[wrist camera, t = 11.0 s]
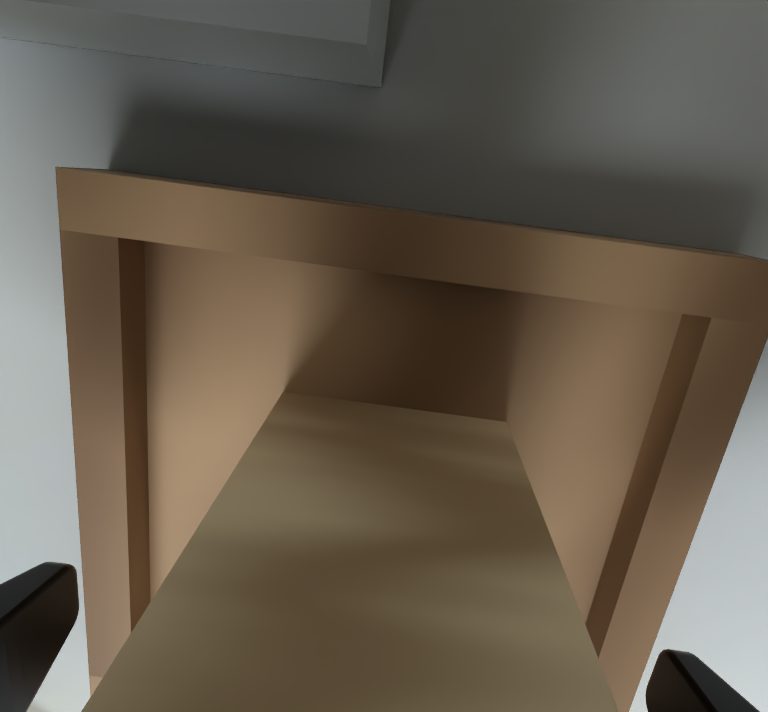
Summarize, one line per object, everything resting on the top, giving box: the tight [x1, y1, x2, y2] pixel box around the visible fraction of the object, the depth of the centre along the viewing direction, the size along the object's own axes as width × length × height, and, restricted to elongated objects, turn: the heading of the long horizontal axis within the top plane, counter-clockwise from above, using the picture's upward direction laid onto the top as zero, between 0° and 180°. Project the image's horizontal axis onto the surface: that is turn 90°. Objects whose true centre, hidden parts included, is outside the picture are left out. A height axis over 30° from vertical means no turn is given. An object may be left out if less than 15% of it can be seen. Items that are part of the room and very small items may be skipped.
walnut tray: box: [55, 167, 768, 712], centre depth 11 cm, size 12×12×2 cm
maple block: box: [82, 392, 619, 712], centre depth 7 cm, size 4×4×8 cm
